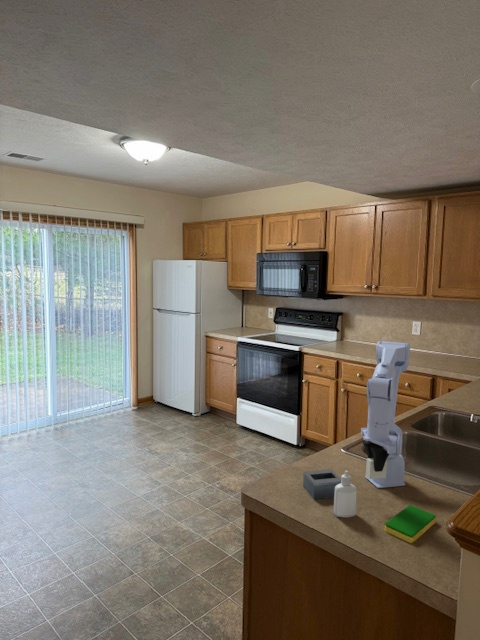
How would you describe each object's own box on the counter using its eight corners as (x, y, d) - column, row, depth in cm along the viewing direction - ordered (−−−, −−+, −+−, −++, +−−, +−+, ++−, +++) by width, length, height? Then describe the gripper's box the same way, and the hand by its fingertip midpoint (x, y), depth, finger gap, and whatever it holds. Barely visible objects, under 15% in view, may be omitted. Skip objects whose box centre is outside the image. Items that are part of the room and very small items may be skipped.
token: (381, 474, 123) (382, 457, 123) (385, 477, 122) (386, 460, 121) (365, 475, 122) (366, 458, 122) (369, 479, 120) (370, 461, 120)
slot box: (330, 483, 135) (331, 469, 134) (342, 496, 127) (343, 480, 126) (303, 486, 132) (303, 471, 132) (313, 499, 125) (314, 483, 124)
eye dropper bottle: (353, 521, 114) (356, 476, 113) (332, 516, 116) (334, 472, 115) (356, 512, 118) (358, 469, 117) (335, 508, 120) (337, 465, 119)
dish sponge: (383, 532, 110) (384, 523, 110) (409, 512, 119) (409, 504, 119) (411, 545, 105) (412, 535, 105) (435, 523, 114) (436, 515, 114)
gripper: (352, 413, 126) (350, 459, 128) (379, 431, 112) (377, 482, 114) (374, 412, 128) (372, 457, 129) (404, 429, 114) (401, 479, 115)
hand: (375, 468), depth 122 cm, fingers closed on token, 2 cm apart
